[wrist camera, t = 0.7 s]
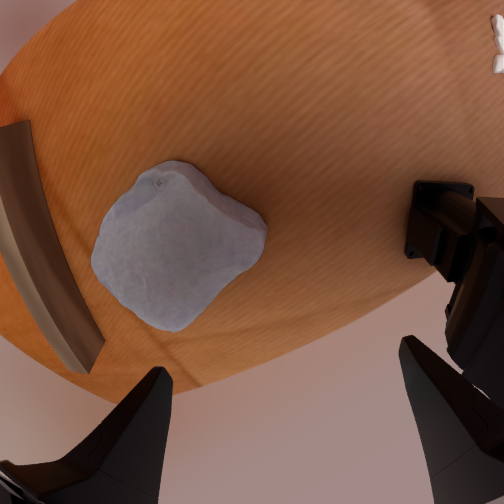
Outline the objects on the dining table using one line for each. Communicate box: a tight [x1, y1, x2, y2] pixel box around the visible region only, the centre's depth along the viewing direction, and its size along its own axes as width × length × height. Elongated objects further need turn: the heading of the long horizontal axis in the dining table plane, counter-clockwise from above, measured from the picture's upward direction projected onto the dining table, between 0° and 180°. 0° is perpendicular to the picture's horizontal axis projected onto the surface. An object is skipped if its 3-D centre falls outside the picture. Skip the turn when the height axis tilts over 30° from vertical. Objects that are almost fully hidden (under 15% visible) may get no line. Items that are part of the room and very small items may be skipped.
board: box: [0, 120, 105, 375], centre depth 19 cm, size 3×24×5 cm, turn 5°
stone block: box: [91, 160, 268, 332], centre depth 19 cm, size 12×5×10 cm
